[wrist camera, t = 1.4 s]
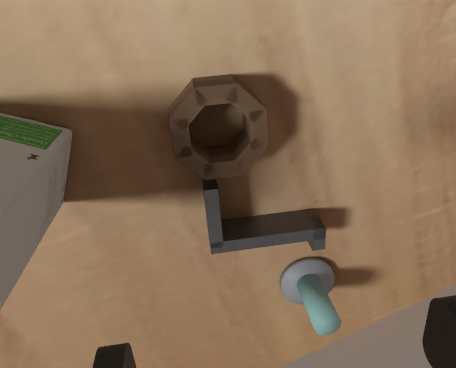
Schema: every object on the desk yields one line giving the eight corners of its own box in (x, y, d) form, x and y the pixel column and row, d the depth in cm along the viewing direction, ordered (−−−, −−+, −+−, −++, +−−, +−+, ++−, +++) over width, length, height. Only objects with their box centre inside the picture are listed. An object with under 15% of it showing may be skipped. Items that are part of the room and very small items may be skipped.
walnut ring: (165, 81, 27) (164, 90, 24) (257, 71, 27) (266, 80, 24) (177, 166, 29) (178, 183, 27) (260, 156, 30) (269, 172, 27)
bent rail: (201, 173, 30) (203, 190, 27) (314, 159, 31) (328, 175, 28) (209, 242, 33) (212, 264, 30) (312, 228, 34) (324, 248, 31)
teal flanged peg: (279, 261, 35) (296, 306, 30) (333, 253, 35) (360, 296, 30) (280, 303, 37) (296, 351, 32) (331, 295, 37) (355, 342, 32)
